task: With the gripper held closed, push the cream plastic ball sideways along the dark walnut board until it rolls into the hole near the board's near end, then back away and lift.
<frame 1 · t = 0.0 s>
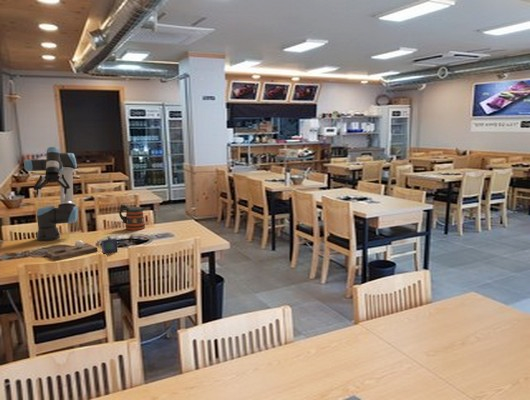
hand: (51, 199, 252), 36 cm above the table, tool tilted 35°, fingers open, 13 cm apart
ball: (79, 244, 264), point 5 cm above the table, touching board
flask: (109, 253, 262), on the table
beer stein: (132, 228, 327), on the table
board: (72, 253, 262), on the table
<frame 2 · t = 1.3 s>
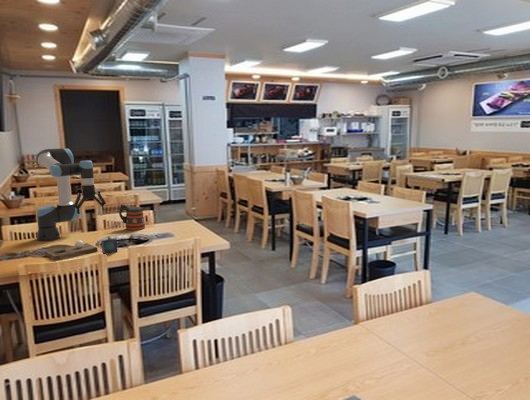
hand: (91, 216, 268), 21 cm above the table, tool pointing down, fingers open, 13 cm apart
nothing on the table moved.
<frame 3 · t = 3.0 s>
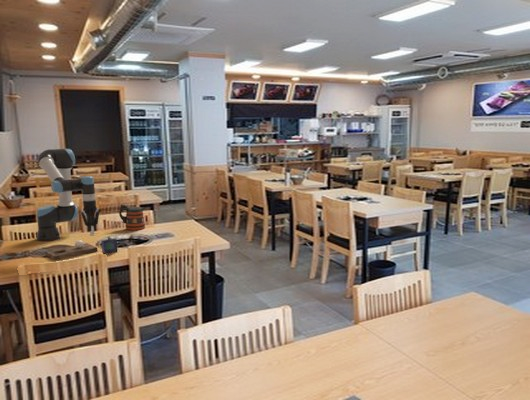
hand: (92, 235, 270), 9 cm above the table, tool pointing down, fingers closed
nothing on the table moved.
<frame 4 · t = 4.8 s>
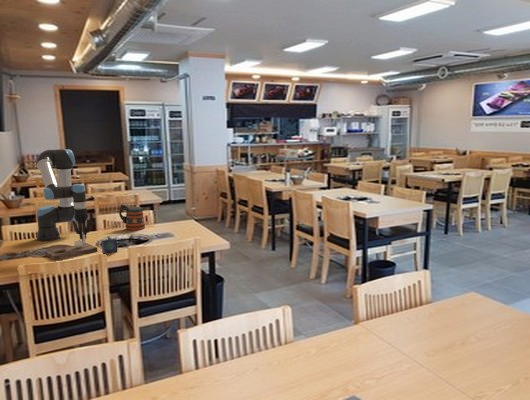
hand: (83, 243, 266), 5 cm above the table, tool pointing down, fingers closed
ball: (78, 244, 264), point 5 cm above the table, tilted 10°, touching board, gripper
everything else where it was.
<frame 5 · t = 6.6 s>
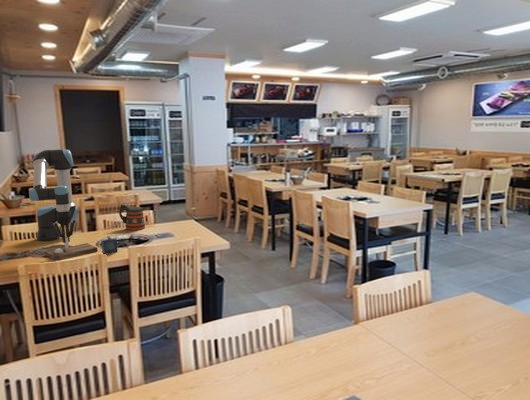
hand: (66, 247, 259), 5 cm above the table, tool pointing down, fingers closed
ball: (59, 252, 256), point 2 cm above the table, tilted 85°
everything else where it was.
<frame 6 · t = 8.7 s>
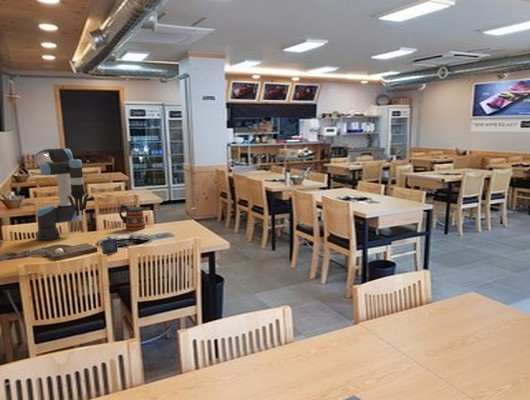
hand: (80, 220, 263), 20 cm above the table, tool pointing down, fingers closed
nothing on the table moved.
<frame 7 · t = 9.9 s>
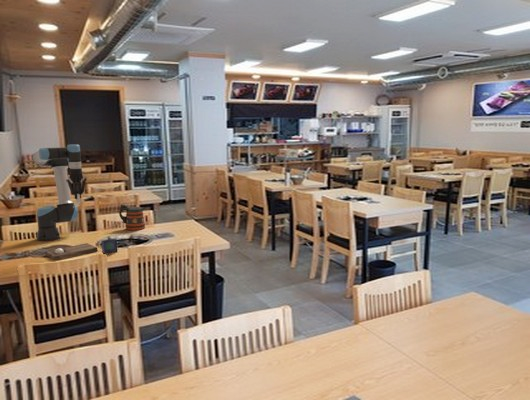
hand: (78, 203, 272), 29 cm above the table, tool pointing down, fingers closed
nothing on the table moved.
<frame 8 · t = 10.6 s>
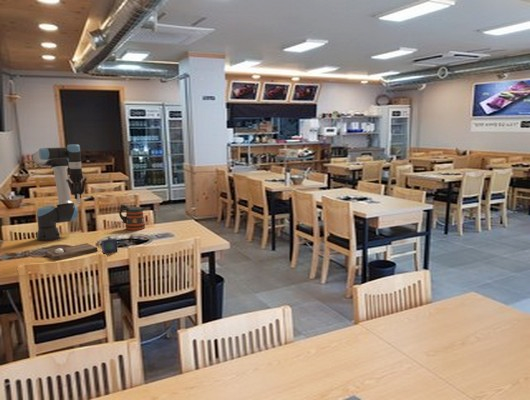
hand: (78, 203, 272), 29 cm above the table, tool pointing down, fingers closed
nothing on the table moved.
at the end: ball 0.6 cm from the target spot on the board, point 2.5 cm above the board's base; ball touching table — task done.
